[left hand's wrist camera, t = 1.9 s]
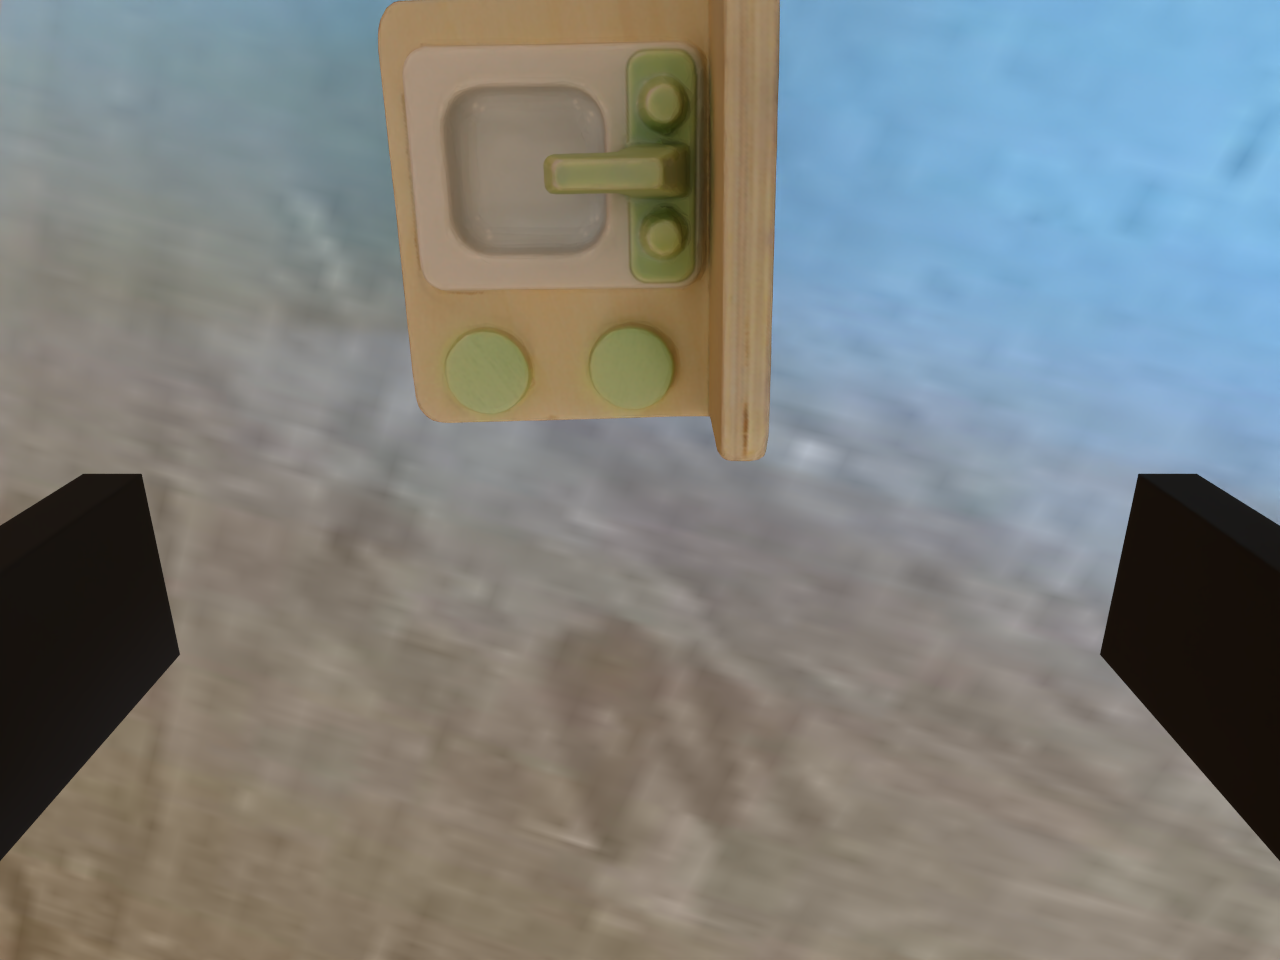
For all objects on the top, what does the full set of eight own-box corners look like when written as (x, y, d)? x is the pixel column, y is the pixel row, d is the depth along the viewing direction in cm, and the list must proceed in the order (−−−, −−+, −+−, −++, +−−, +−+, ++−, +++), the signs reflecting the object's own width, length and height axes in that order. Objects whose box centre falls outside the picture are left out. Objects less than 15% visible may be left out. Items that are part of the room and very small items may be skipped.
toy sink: (458, 40, 26) (293, -37, 14) (717, 30, 26) (787, -56, 13) (487, 338, 29) (374, 494, 17) (718, 330, 29) (776, 482, 17)
